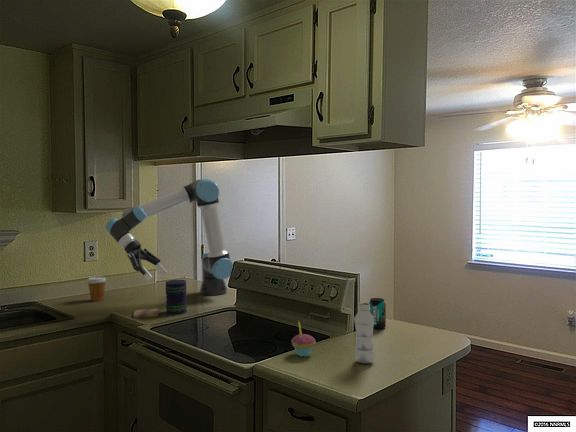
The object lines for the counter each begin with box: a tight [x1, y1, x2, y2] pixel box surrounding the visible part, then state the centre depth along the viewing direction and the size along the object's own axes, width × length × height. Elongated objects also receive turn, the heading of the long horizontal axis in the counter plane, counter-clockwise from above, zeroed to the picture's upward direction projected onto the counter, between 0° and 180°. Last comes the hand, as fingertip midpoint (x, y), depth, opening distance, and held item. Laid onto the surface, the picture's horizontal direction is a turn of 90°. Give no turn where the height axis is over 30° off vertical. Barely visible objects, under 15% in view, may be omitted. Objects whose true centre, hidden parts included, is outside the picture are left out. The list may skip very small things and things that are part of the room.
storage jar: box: [165, 279, 188, 316], centre depth 239 cm, size 10×10×15 cm
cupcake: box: [290, 320, 317, 357], centre depth 177 cm, size 9×8×12 cm
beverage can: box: [368, 297, 387, 330], centre depth 209 cm, size 7×7×12 cm
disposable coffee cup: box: [86, 276, 107, 302], centre depth 267 cm, size 10×10×12 cm
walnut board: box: [132, 308, 160, 318], centre depth 236 cm, size 11×10×1 cm
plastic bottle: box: [353, 302, 376, 365], centre depth 168 cm, size 6×7×20 cm
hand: (158, 276), depth 240 cm, fingers open, 13 cm apart
